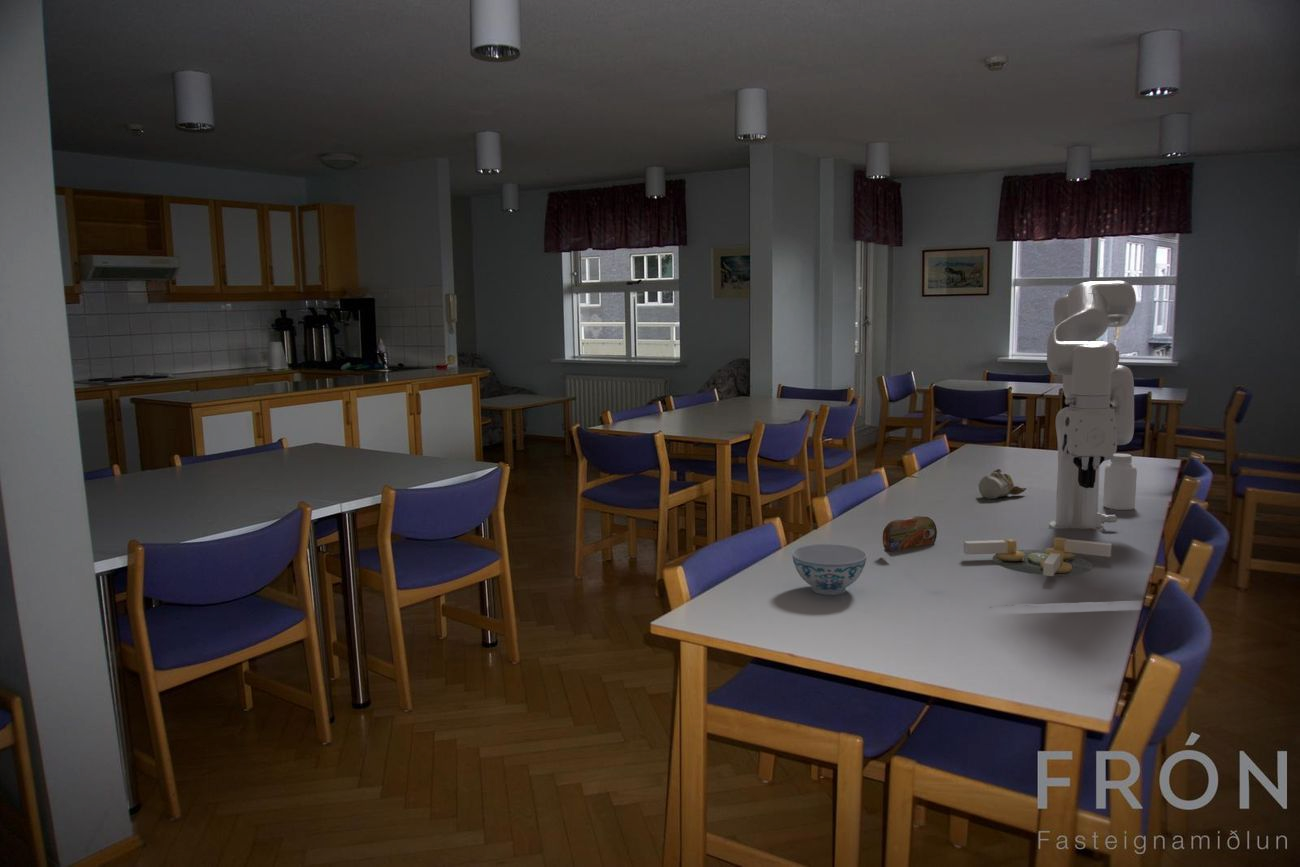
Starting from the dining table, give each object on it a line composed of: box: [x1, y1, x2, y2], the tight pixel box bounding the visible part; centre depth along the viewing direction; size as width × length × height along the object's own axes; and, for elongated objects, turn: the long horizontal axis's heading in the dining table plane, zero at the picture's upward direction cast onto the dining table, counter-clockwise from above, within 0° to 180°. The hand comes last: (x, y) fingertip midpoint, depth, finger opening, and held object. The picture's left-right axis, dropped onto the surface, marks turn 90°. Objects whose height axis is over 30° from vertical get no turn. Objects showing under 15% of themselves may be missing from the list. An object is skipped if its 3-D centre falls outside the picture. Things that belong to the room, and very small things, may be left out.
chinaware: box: [791, 543, 868, 596], centre depth 183 cm, size 15×15×8 cm
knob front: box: [1040, 550, 1072, 577], centre depth 185 cm, size 13×6×4 cm, turn 147°
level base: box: [992, 549, 1093, 576], centre depth 195 cm, size 20×20×3 cm
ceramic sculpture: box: [978, 468, 1027, 500], centre depth 269 cm, size 11×9×15 cm
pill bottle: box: [1102, 452, 1138, 511], centre depth 250 cm, size 8×8×15 cm
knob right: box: [1044, 536, 1112, 559], centre depth 196 cm, size 13×6×4 cm, turn 59°
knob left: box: [963, 538, 1025, 561], centre depth 198 cm, size 13×6×4 cm, turn 92°
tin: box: [882, 515, 938, 553], centre depth 210 cm, size 15×3×8 cm, turn 117°
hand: (1086, 486), depth 193 cm, fingers closed
